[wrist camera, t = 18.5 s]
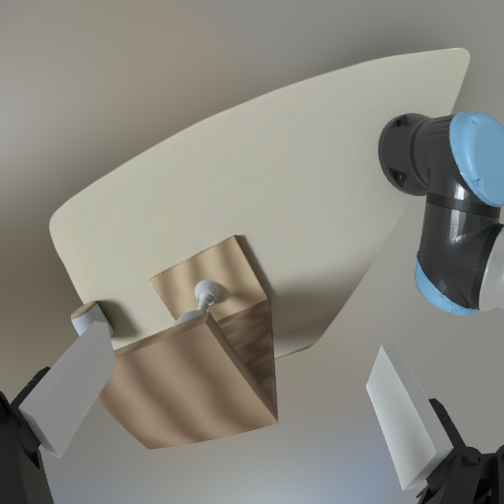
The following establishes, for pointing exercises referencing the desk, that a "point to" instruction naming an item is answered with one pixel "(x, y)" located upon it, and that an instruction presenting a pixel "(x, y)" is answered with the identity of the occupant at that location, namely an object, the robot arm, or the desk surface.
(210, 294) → the chalice
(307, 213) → the desk surface
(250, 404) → the walnut shelf
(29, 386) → the robot arm
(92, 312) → the ceramic mug
